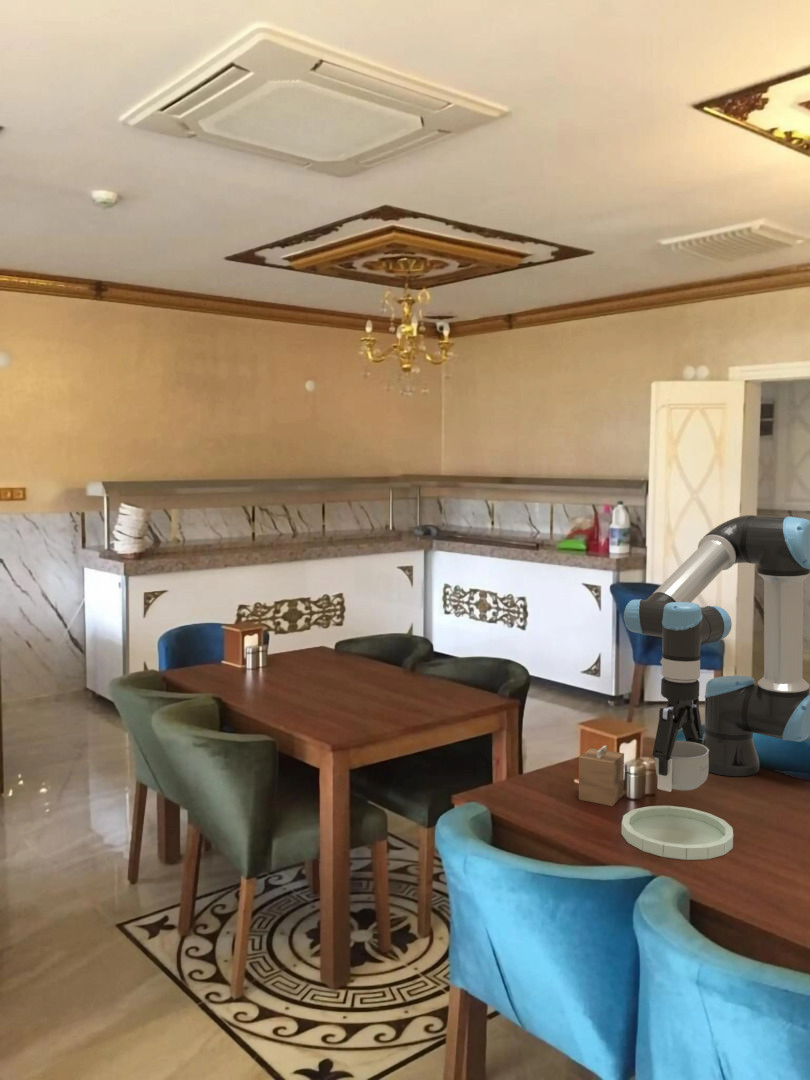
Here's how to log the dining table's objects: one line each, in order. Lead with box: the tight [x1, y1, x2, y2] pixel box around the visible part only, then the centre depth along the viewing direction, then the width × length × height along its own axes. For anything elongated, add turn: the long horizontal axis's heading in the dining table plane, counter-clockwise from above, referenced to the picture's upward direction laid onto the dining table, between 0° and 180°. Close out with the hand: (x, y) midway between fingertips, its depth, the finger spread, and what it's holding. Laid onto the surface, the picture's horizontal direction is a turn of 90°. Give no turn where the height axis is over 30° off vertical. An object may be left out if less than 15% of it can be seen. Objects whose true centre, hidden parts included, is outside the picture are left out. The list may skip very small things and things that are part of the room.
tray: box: [620, 805, 734, 861], centre depth 191 cm, size 22×22×2 cm
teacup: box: [654, 740, 709, 791], centre depth 191 cm, size 14×11×8 cm
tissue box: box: [578, 745, 625, 807], centre depth 213 cm, size 8×8×12 cm
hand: (677, 782), depth 190 cm, fingers closed on teacup, 11 cm apart
